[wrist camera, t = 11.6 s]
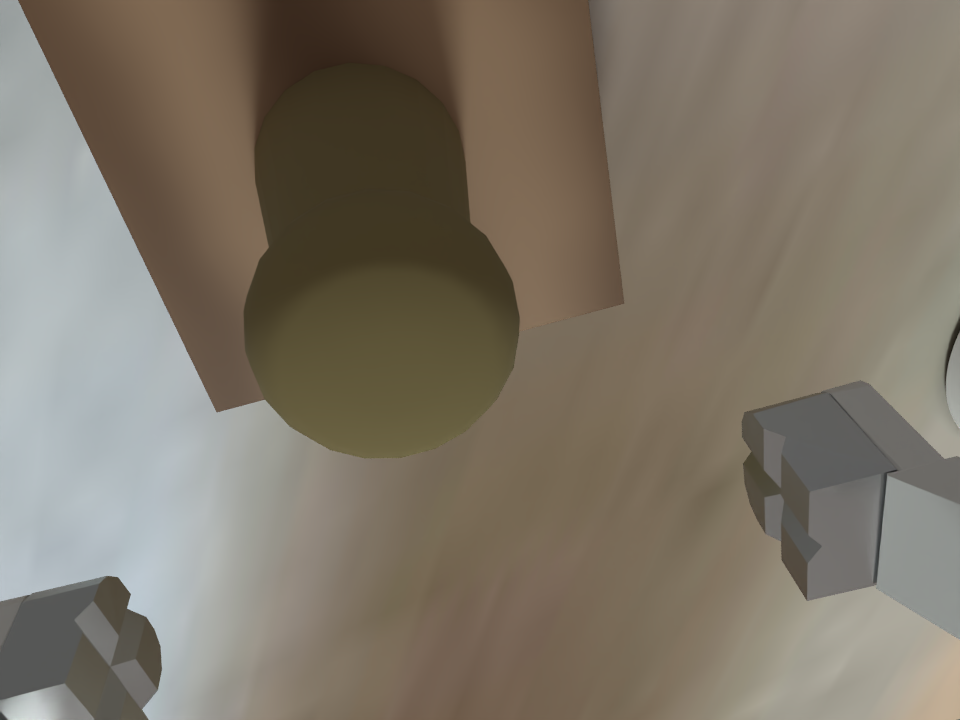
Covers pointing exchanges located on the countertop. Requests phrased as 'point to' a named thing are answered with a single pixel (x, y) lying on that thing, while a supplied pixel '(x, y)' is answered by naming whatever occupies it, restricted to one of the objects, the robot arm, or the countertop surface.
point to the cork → (373, 269)
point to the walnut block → (288, 59)
